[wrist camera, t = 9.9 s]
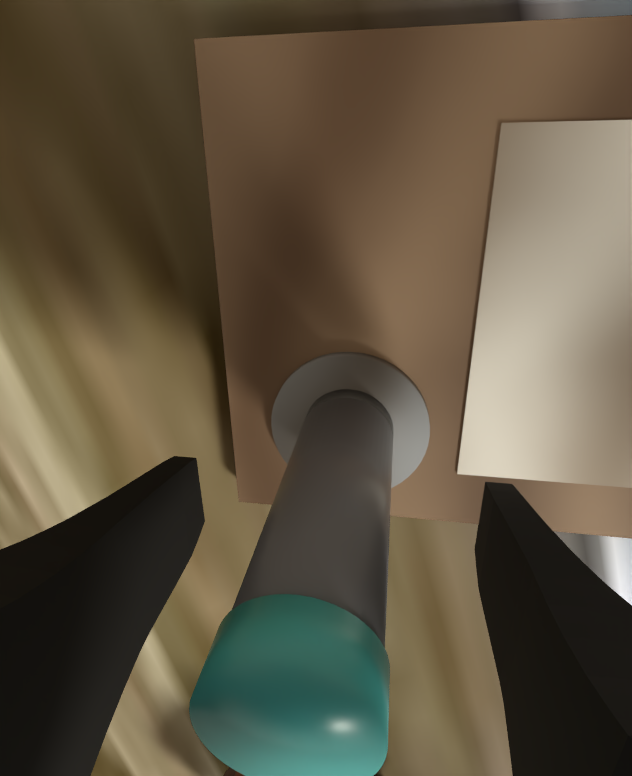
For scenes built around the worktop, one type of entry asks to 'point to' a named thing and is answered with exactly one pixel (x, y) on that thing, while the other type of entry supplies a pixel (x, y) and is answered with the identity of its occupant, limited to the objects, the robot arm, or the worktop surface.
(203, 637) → the worktop surface
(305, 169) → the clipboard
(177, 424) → the worktop surface
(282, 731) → the marker
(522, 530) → the robot arm
